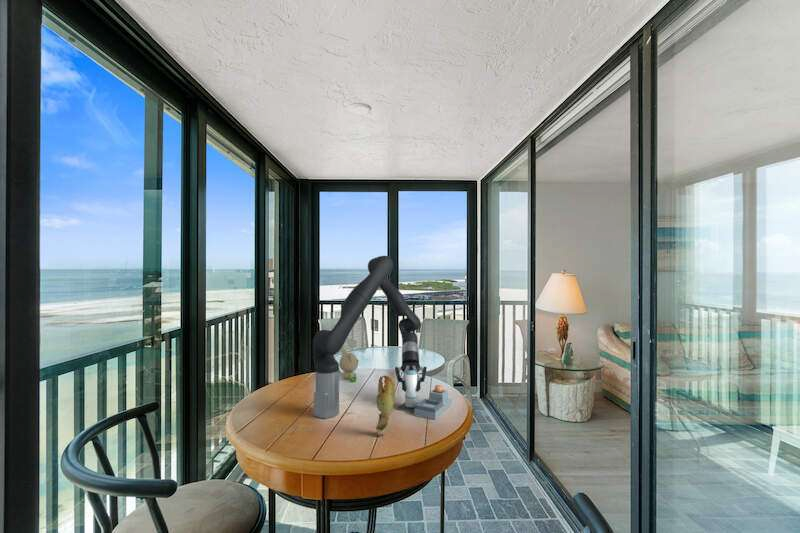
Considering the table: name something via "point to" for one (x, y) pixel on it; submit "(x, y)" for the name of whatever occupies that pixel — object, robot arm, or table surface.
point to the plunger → (438, 389)
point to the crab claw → (384, 403)
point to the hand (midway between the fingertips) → (411, 390)
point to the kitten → (348, 365)
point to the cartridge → (410, 388)
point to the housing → (433, 405)
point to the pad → (405, 408)
